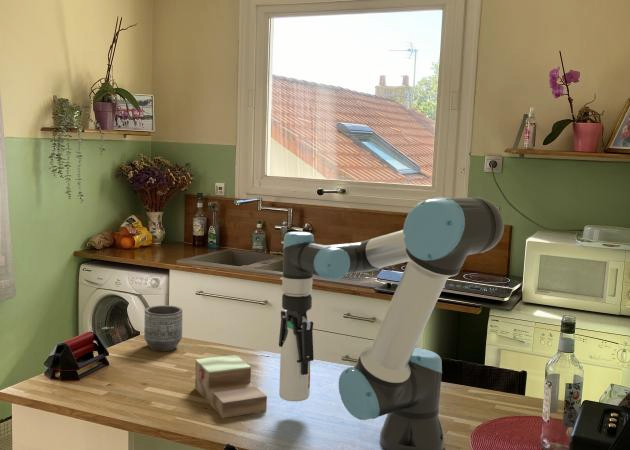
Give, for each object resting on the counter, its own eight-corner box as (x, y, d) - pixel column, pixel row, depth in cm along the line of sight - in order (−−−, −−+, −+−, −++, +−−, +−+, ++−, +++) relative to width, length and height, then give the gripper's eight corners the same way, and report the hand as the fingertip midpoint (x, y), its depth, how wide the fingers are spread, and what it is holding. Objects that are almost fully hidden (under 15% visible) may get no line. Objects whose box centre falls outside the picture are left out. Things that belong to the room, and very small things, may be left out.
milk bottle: (305, 403, 176) (308, 325, 174) (275, 400, 178) (277, 323, 175) (312, 393, 184) (314, 318, 181) (283, 390, 185) (285, 315, 183)
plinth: (268, 410, 184) (269, 379, 183) (220, 418, 178) (221, 386, 177) (237, 382, 203) (238, 354, 202) (193, 388, 197) (193, 359, 196)
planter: (187, 350, 230) (187, 312, 229) (150, 355, 224) (151, 316, 223) (174, 340, 241) (175, 303, 239) (139, 344, 235) (139, 306, 233)
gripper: (330, 300, 170) (327, 391, 173) (292, 284, 188) (290, 367, 191) (302, 303, 167) (299, 396, 170) (266, 286, 185) (265, 370, 187)
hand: (294, 380), depth 180 cm, fingers closed on milk bottle, 8 cm apart
